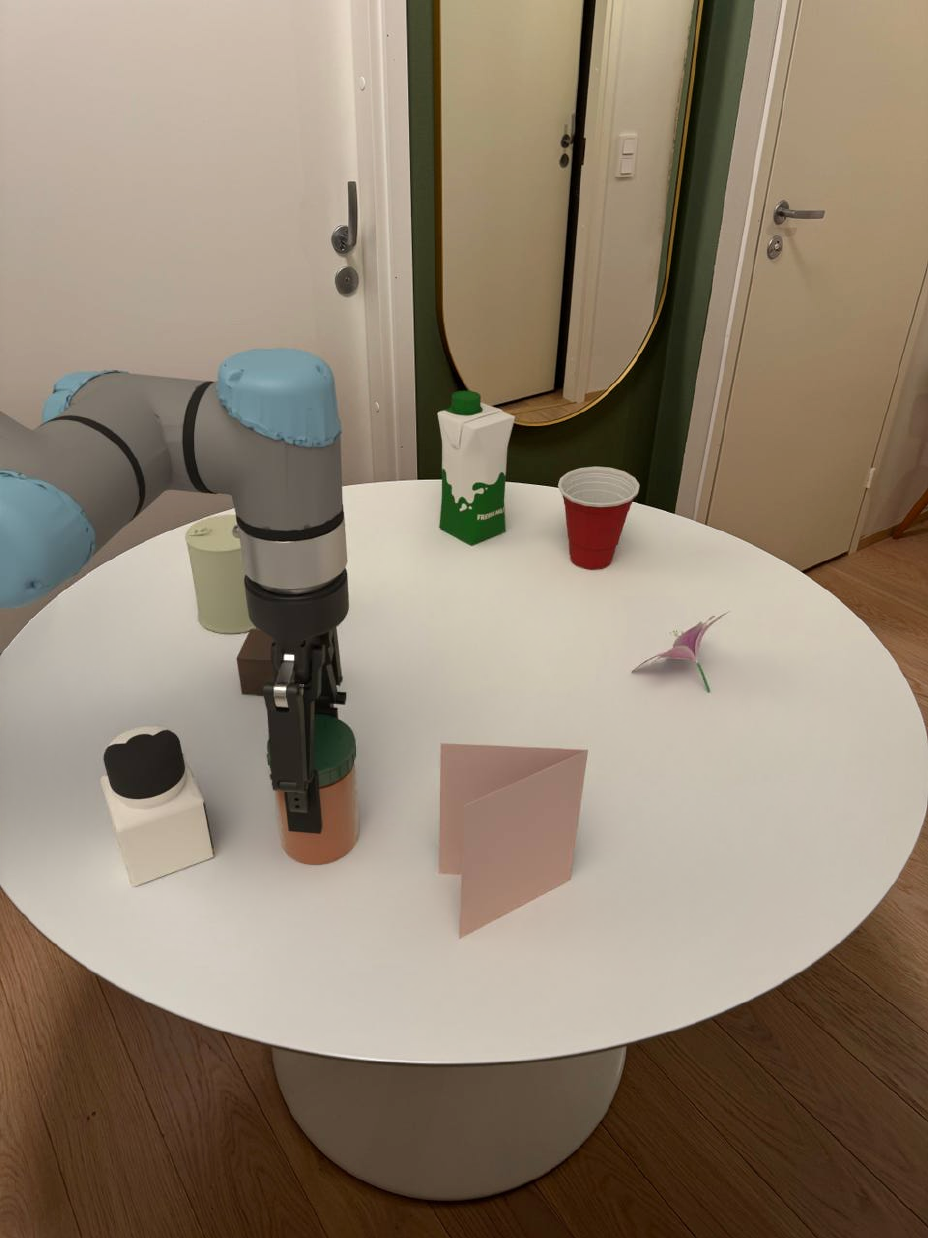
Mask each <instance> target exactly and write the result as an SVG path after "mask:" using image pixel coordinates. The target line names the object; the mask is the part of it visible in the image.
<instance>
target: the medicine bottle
mask: <svg viewBox="0 0 928 1238" xmlns="http://www.w3.org/2000/svg"><path fill="white" fill-rule="evenodd" d="M181 744H182V743H181V740H180V738H179V736H178V735H177V734H176V733H175V732H173V731H172V730H170V729H167V728H166V727H162V726H159V725H158V726H157V725H144V726H138V727H134V728H131V729H129V730H126V731H124V732H122V733H121V734H119V735H117V736H116V737H115V738H114V739H113V740H112V741H111V742H110V743H109V744H108V746H107V747H106V748H105V750H104V753H103V757H102V759H103V764H104V767H105V772H106V774H104V775H102V776H101V777H100V784H101V788H102V792H103V795H104V799H105V802H106V806H107V809H108V813H109V817H110V820H111V824H112V828H113V831H114V835H115V838H116V841H117V845H118V847H119V848H118V849H119V850H120V854H121V857H122V861H123V863H124V866H125V870H126V874H127V876H128V880H129V883H130V885H132V887H138V886H141V885H144V884H146V883H148V882H151V881H154V880H156V879H159V878H162V877H165V876H167V875H169V874H172V873H175V872H177V871H181V870H183V869H186V868H188V867H192V866H194V865H197V864H199V863H202V862H204V861H207V860H210V859H212V858H213V857H214V856H215V848H214V843H213V839H212V833H211V828H210V823H209V819H208V812H207V808H206V803H205V802H206V801H205V799H204V797H203V795H202V792H201V790H200V787H199V785H198V783H197V780H196V778H195V776H194V773H193V772H192V769H191V766H190V764H189V763H188V760H187V758H186V756H185V753H184V752H183V749H182V745H181Z"/></svg>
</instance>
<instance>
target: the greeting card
mask: <svg viewBox="0 0 928 1238" xmlns="http://www.w3.org/2000/svg"><path fill="white" fill-rule="evenodd" d="M588 753H589V749H582V748H581V749H580V748H561V747H559V748H556V747H535V746H512V745H494V744H492V745H491V744H489V745H488V744H471V743H470V744H468V743H449V742H448V743H447V742H441V743H440V762H439V763H440V764H439V765H440V769H439V770H440V771H439V773H440V775H439V834H438V835H439V836H438V838H439V839H438V841H439V842H438V843H439V845H438V874H439V875H440V874H441V875H442V874H443V875H461V878H460V880H461V881H460V903H459V904H460V906H459V907H460V908H459V932H458V933H459V934H458V935H459V936H458V937H459V940H460V939H462V938H463V937H466V936H468V935H470V934H471V933H474V932H475V931H477V930H479V929H481V928H483V927H484V926H486V925H488V924H490V923H492V922H493V921H495V920H497V919H499V918H501V917H504V916H505V915H507V914H509V913H511V912H513V911H515V910H517V909H518V908H520V907H522V906H524V905H525V904H527V903H529V902H531V901H533V900H536V899H538V898H539V897H541V896H542V895H543V896H544V894H546V893H548V892H550V891H552V890H554V889H556V888H558V887H559V886H561V885H563V884H565V883H566V882H569V881H570V880H571V875H572V870H573V869H572V868H573V862H574V855H575V847H576V840H577V834H578V833H577V832H578V827H579V826H578V825H579V820H580V819H579V818H580V811H581V803H582V797H583V790H584V783H585V775H586V769H587V768H586V767H587V762H588V761H587V760H588Z"/></svg>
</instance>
